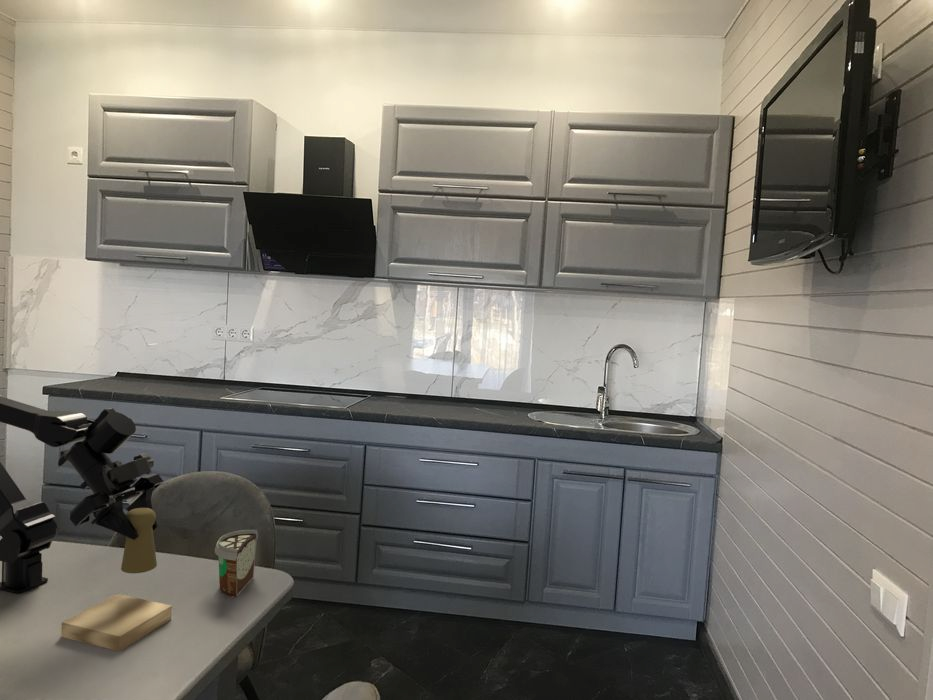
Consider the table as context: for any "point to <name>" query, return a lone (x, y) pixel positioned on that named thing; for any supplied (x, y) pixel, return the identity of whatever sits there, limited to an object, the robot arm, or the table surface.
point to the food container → (236, 560)
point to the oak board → (116, 621)
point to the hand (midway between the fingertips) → (146, 533)
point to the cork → (140, 542)
